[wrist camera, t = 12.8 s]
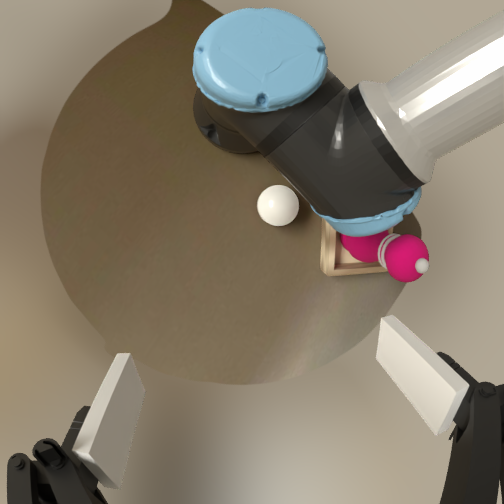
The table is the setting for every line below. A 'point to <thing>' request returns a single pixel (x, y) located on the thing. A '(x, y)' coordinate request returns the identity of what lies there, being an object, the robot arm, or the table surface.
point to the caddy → (342, 255)
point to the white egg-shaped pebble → (278, 205)
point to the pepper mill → (391, 253)
